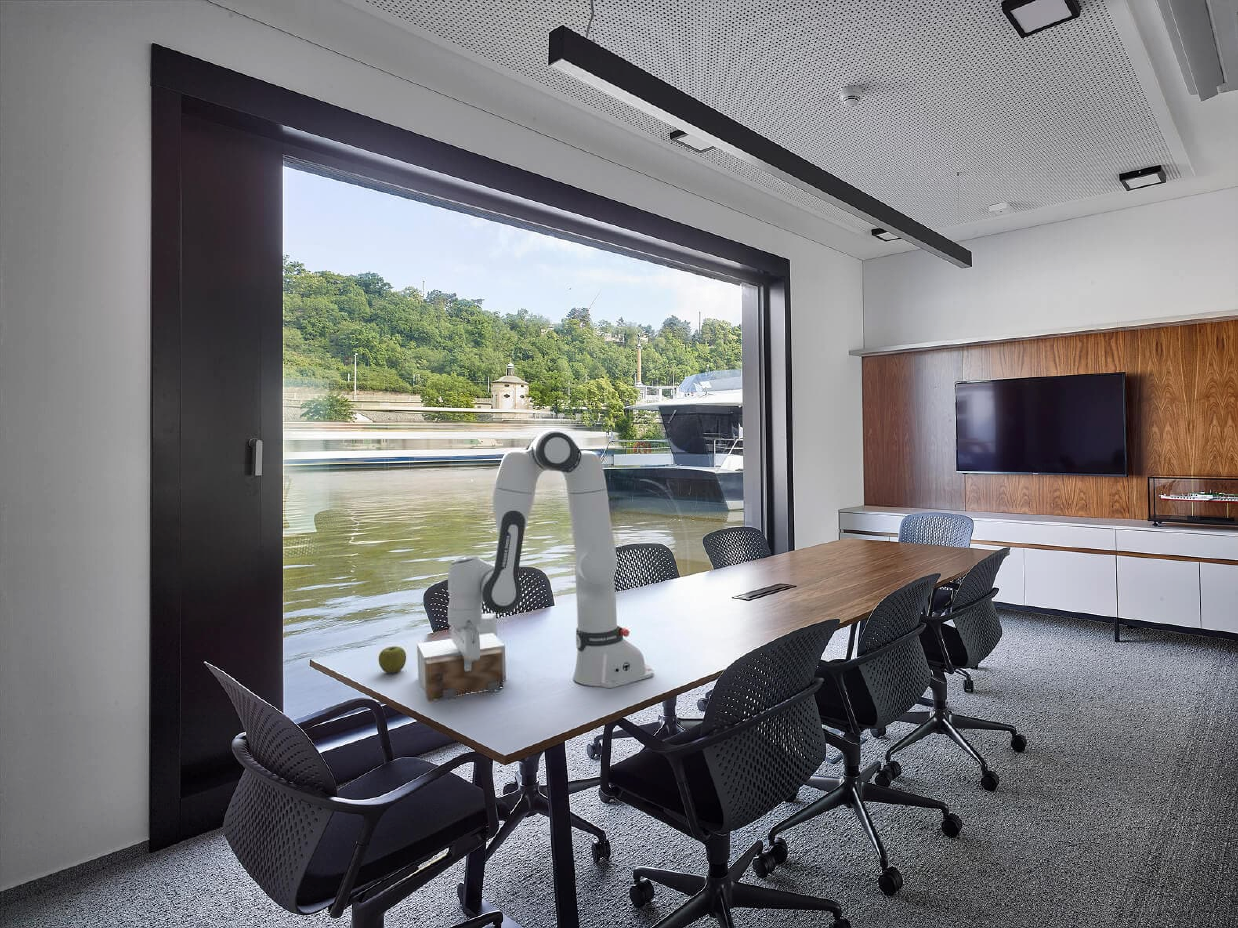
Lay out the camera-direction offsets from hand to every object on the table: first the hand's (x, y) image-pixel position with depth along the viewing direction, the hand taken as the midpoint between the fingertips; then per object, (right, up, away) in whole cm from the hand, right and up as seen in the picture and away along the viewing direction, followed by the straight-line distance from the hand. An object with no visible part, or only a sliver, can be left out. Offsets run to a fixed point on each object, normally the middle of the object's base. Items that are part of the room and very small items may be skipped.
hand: (465, 667), depth 190 cm
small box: (-1, -6, +30) cm, 30 cm away
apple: (-25, -7, +18) cm, 32 cm away
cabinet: (-2, -6, +7) cm, 10 cm away
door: (0, -7, 0) cm, 7 cm away
